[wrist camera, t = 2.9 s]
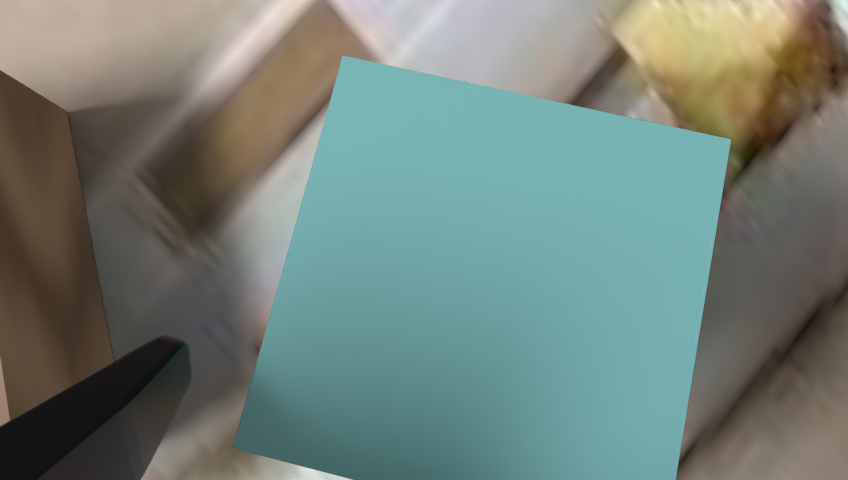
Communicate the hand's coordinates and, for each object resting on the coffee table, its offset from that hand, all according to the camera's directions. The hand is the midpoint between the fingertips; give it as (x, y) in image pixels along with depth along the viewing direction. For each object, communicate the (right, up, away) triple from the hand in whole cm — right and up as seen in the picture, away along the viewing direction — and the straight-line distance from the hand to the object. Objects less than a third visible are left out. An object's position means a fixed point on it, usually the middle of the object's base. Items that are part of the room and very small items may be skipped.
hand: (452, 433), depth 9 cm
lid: (+1, +2, +4) cm, 4 cm away
